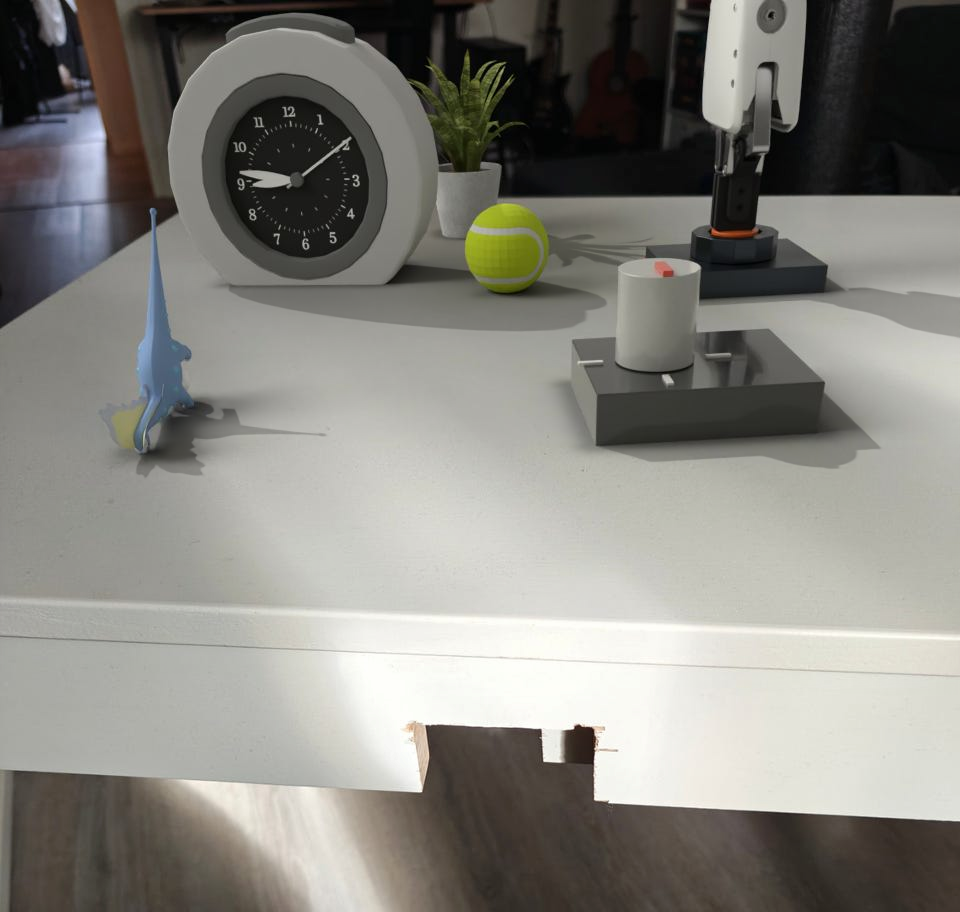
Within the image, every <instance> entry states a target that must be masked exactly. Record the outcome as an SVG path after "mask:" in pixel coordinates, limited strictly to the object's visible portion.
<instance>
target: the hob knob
mask: <svg viewBox="0 0 960 912" xmlns="http://www.w3.org/2000/svg"><path fill="white" fill-rule="evenodd" d="M616 279H617V280H616V281H617V283H616V284H617V285H616V287H617V288H616V308H615V309H616V310H615V313H616V315H615V337H616V340H615V361H616V363H617V364H619V365H620V366H622V367H625V368H628V369H632V370H637V371H644V372H666V371H674V370H679V369H683V368H685V367H688V366H690V365H691V364H692V363H693V362H694V359H695V346H696V333H697V332H698V330H697V329H698V317H699V306H700V305H699V304H700V299H699V294H700V281H701V266H700V265H699V264H697V263H694V262H691V261H687V260H682V259H673V258H649V259H646V258H640V259H634V260H629V261H626V262H623V263H622V264H620V265H618V267H617V278H616Z"/></svg>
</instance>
